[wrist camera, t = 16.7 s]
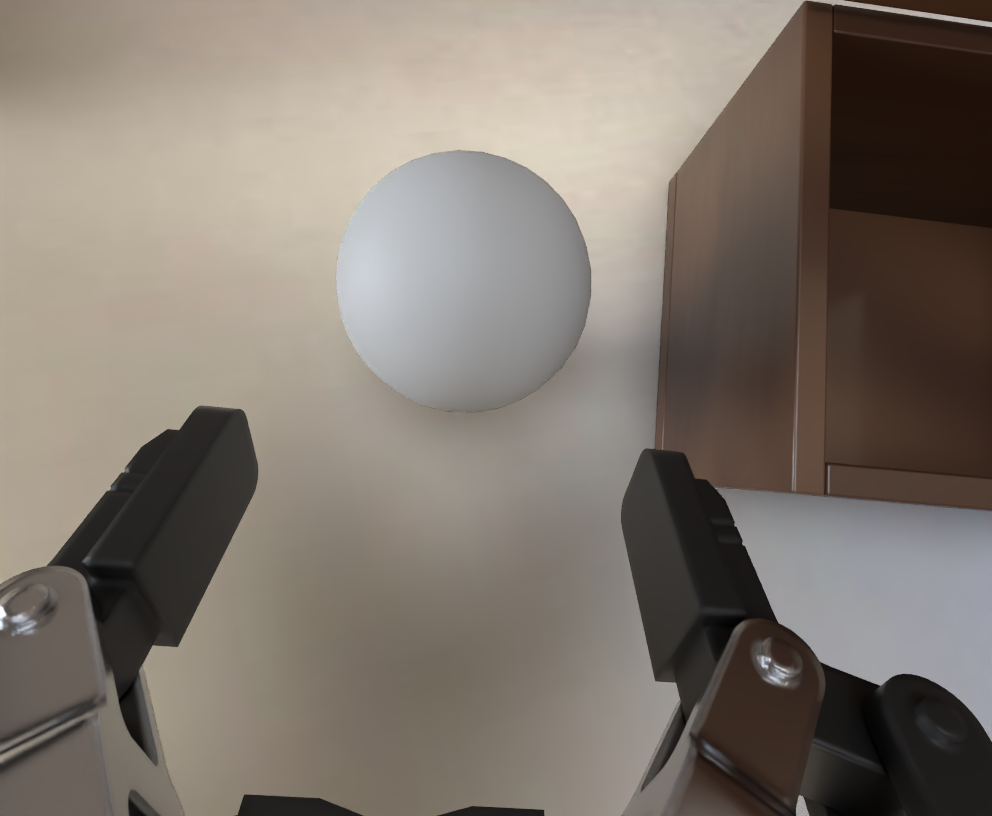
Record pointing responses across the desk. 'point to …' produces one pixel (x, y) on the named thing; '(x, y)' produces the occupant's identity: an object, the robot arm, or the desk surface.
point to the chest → (839, 268)
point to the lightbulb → (463, 281)
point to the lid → (942, 7)
